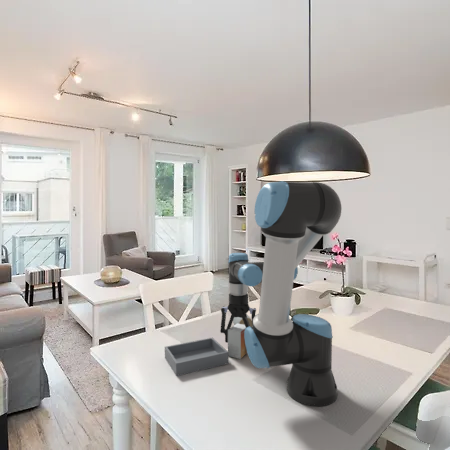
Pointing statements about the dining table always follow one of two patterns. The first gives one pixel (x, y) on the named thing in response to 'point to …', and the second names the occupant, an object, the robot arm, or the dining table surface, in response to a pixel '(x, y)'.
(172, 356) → the bin
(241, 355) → the small box
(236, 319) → the ceramic mug
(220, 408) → the dining table surface
